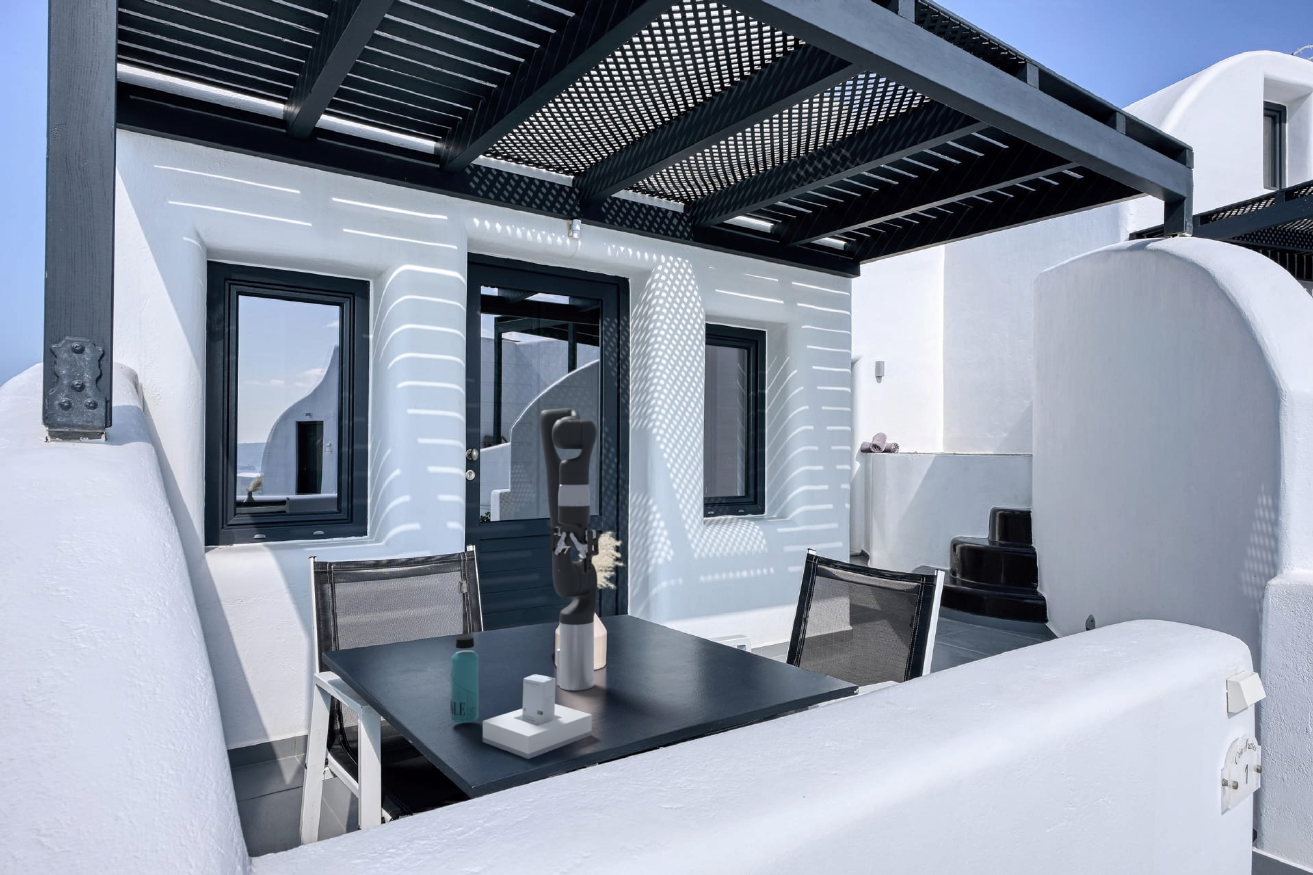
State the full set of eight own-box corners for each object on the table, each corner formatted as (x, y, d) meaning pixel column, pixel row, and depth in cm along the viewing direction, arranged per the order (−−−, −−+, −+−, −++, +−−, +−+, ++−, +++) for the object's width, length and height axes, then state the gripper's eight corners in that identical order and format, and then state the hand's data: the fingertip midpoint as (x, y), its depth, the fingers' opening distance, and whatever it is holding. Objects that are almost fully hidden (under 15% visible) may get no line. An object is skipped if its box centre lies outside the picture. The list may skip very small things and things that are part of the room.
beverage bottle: (481, 720, 183) (482, 633, 184) (476, 729, 177) (476, 640, 177) (453, 720, 183) (454, 634, 184) (447, 730, 177) (447, 640, 177)
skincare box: (520, 734, 171) (521, 678, 171) (534, 728, 175) (534, 673, 175) (542, 739, 168) (542, 682, 168) (556, 733, 171) (556, 677, 172)
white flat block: (482, 741, 169) (482, 720, 169) (546, 720, 183) (546, 701, 183) (528, 759, 159) (528, 736, 160) (591, 735, 173) (591, 714, 173)
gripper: (606, 504, 185) (606, 573, 185) (565, 501, 194) (565, 567, 194) (583, 505, 179) (583, 577, 179) (542, 503, 189) (541, 571, 188)
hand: (573, 572), depth 186 cm, fingers open, 8 cm apart
